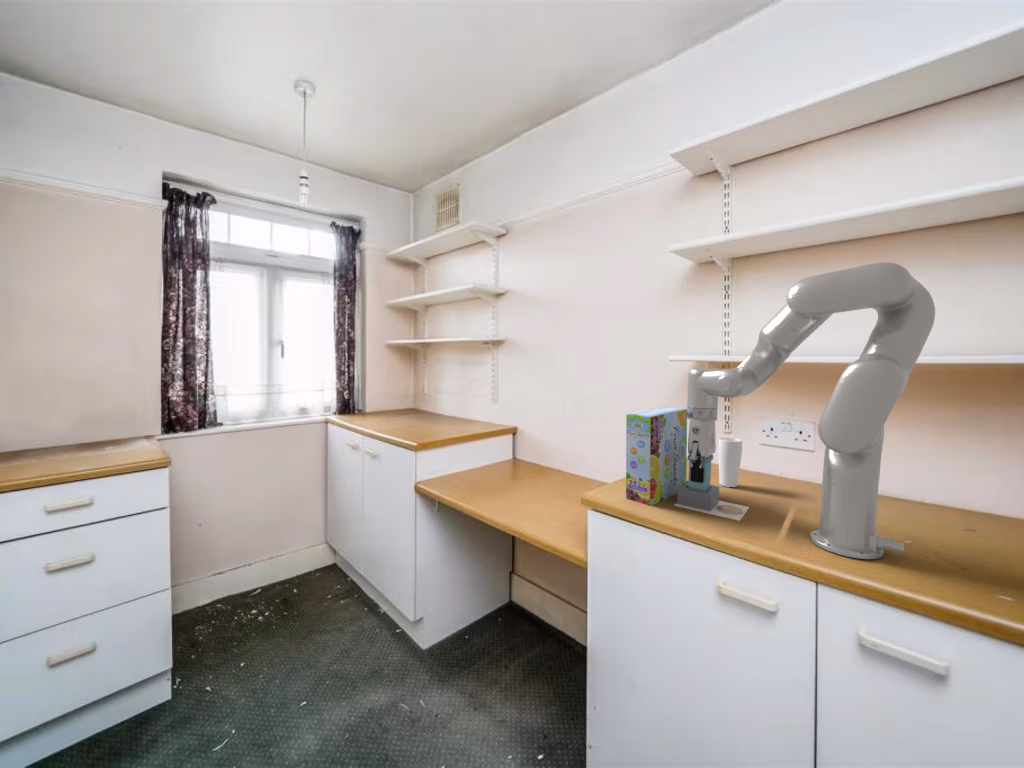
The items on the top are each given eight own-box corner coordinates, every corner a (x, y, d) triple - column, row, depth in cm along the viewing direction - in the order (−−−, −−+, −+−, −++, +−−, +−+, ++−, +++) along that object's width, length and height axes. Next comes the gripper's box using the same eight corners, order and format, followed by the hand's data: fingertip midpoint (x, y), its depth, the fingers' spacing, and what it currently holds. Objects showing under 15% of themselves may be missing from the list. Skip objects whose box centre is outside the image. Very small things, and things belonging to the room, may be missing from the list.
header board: (749, 510, 113) (750, 490, 113) (739, 524, 104) (740, 502, 104) (687, 497, 123) (688, 479, 123) (673, 508, 114) (674, 489, 114)
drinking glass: (741, 484, 136) (743, 438, 134) (738, 490, 130) (741, 442, 129) (718, 480, 139) (720, 436, 138) (714, 486, 134) (716, 439, 133)
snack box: (660, 485, 134) (663, 405, 132) (687, 492, 128) (690, 408, 126) (622, 501, 120) (625, 412, 118) (650, 510, 113) (653, 415, 111)
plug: (711, 497, 116) (713, 455, 115) (706, 502, 112) (708, 458, 111) (691, 493, 119) (693, 452, 118) (685, 498, 115) (687, 455, 114)
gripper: (708, 418, 105) (705, 490, 106) (724, 411, 118) (722, 475, 119) (677, 415, 110) (675, 484, 111) (696, 409, 123) (694, 470, 124)
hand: (699, 479), depth 115 cm, fingers closed on plug, 4 cm apart
